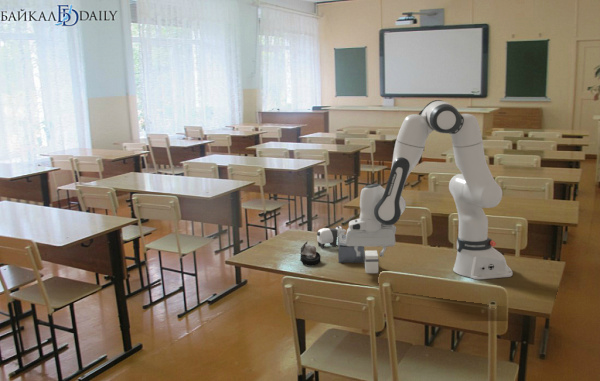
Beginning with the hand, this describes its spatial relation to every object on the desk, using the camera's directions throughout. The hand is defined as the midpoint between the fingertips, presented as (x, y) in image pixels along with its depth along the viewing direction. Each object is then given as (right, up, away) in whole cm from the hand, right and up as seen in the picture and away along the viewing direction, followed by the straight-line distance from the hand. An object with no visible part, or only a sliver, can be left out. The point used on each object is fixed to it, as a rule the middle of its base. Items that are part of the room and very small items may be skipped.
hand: (370, 256), depth 221 cm
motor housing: (-6, -2, +18) cm, 19 cm away
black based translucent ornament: (-24, -4, +14) cm, 28 cm away
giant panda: (-14, +1, +34) cm, 37 cm away
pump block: (+1, -6, +2) cm, 6 cm away
